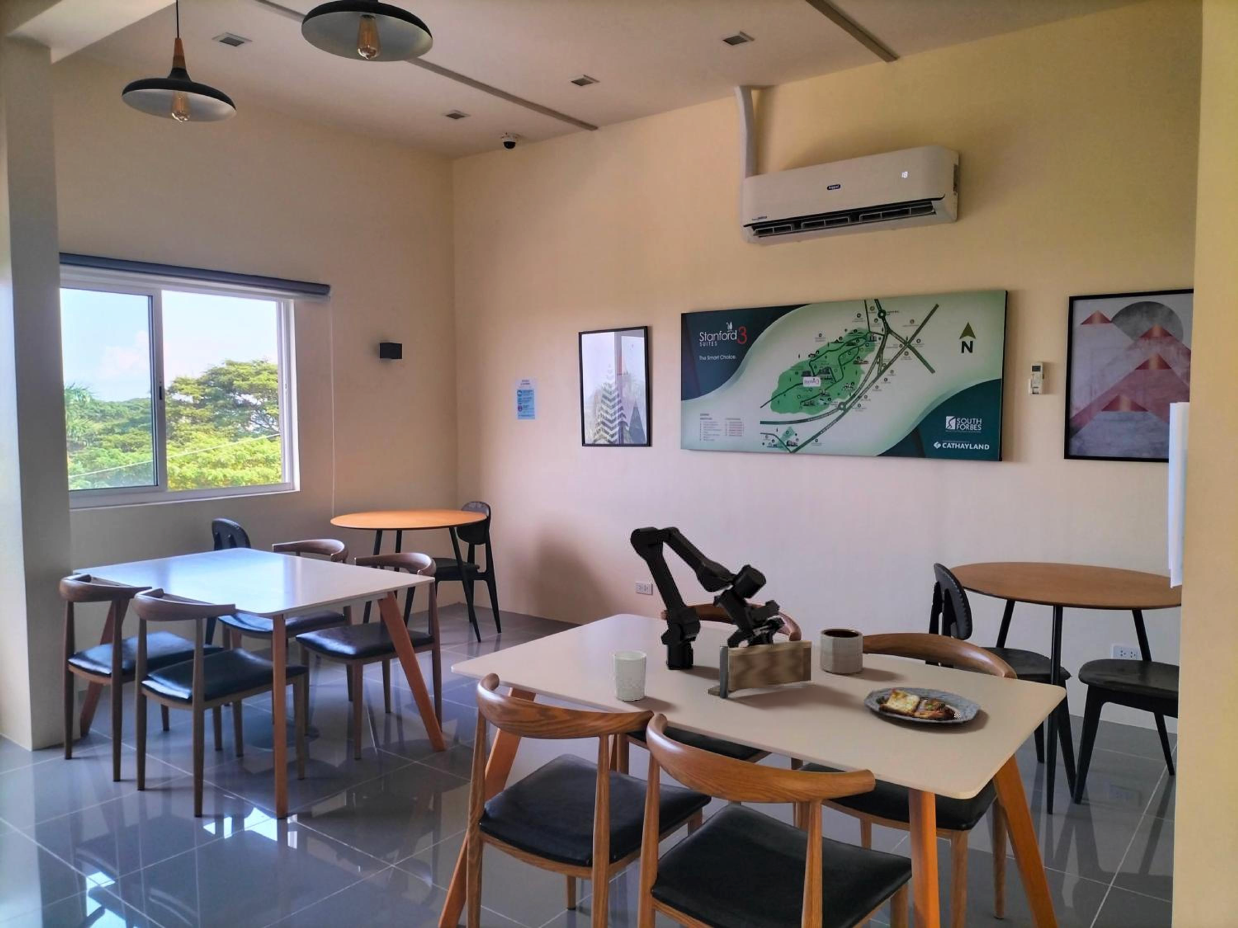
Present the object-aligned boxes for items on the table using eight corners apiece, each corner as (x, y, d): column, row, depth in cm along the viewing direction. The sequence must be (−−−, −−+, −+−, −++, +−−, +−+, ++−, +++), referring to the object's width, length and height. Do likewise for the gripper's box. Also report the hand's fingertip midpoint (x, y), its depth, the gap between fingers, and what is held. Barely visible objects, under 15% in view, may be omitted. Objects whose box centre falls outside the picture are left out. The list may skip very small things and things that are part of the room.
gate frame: (725, 698, 201) (725, 648, 201) (705, 694, 205) (705, 644, 204) (782, 674, 220) (782, 628, 220) (763, 670, 224) (763, 625, 224)
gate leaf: (731, 691, 202) (731, 650, 202) (728, 688, 204) (728, 648, 203) (811, 680, 210) (811, 641, 210) (807, 678, 212) (807, 639, 211)
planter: (816, 672, 223) (816, 635, 222) (823, 661, 233) (823, 626, 232) (860, 677, 218) (860, 639, 218) (864, 665, 229) (865, 630, 228)
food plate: (965, 738, 175) (965, 720, 175) (852, 719, 188) (852, 703, 188) (986, 707, 196) (986, 691, 196) (883, 692, 209) (883, 677, 209)
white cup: (651, 694, 205) (651, 652, 204) (638, 704, 198) (638, 661, 197) (621, 690, 208) (621, 649, 208) (607, 699, 201) (607, 657, 201)
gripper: (737, 595, 204) (777, 649, 198) (778, 585, 218) (817, 635, 212) (710, 623, 210) (748, 677, 203) (752, 611, 224) (789, 661, 217)
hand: (777, 661), depth 209 cm, fingers closed
